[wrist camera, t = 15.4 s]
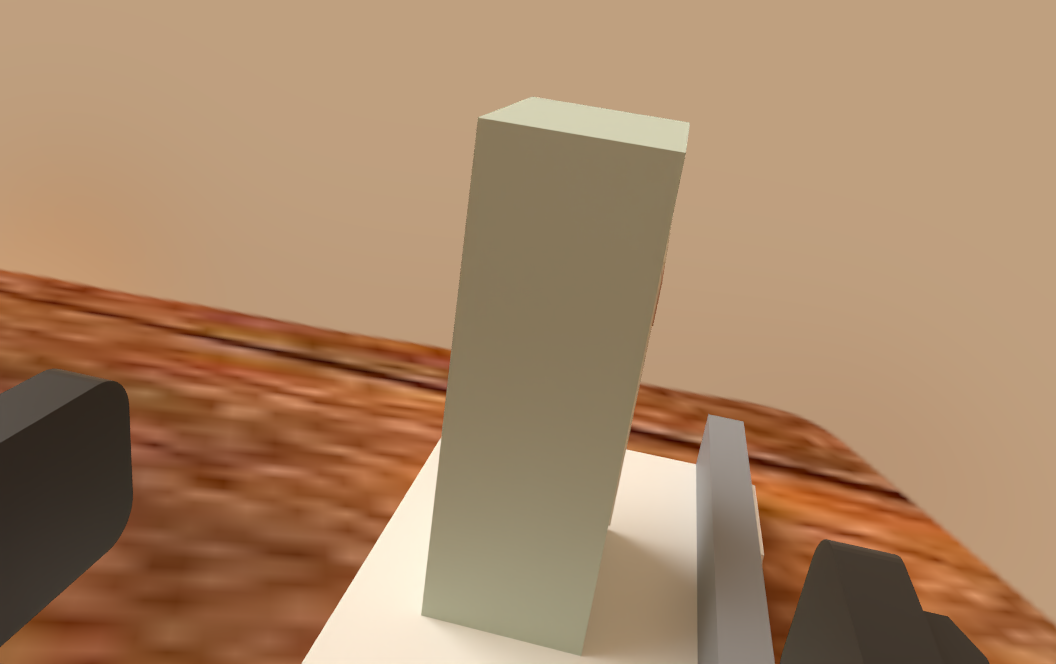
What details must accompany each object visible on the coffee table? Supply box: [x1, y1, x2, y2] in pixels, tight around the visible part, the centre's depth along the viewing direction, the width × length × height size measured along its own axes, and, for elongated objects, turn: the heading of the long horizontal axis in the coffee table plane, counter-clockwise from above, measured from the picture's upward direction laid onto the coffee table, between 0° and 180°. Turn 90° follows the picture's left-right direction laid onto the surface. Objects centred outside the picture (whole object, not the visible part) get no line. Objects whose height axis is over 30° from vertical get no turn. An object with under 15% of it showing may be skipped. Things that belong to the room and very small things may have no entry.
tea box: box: [421, 97, 690, 656], centre depth 20 cm, size 4×6×12 cm
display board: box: [302, 414, 775, 664], centre depth 22 cm, size 10×16×4 cm, turn 169°
